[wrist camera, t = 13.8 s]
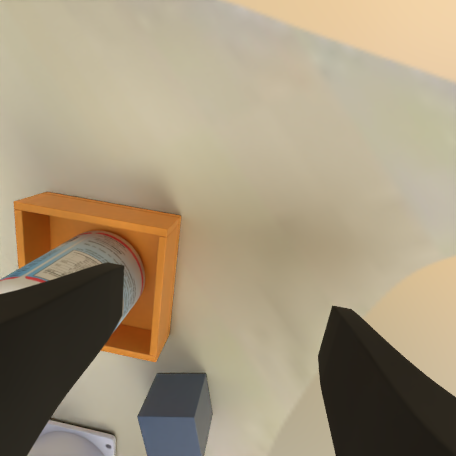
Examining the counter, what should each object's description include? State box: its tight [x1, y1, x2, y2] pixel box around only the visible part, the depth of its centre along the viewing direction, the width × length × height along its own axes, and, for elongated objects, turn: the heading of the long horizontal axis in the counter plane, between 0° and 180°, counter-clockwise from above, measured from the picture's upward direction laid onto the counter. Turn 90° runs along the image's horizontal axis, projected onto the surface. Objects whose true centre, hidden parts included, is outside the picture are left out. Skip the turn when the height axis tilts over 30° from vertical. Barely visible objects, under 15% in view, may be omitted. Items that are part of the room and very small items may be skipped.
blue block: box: [137, 374, 213, 456], centre depth 24 cm, size 4×4×4 cm
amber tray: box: [14, 192, 181, 362], centre depth 22 cm, size 10×10×3 cm
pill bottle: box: [0, 231, 145, 332], centre depth 17 cm, size 6×6×11 cm
